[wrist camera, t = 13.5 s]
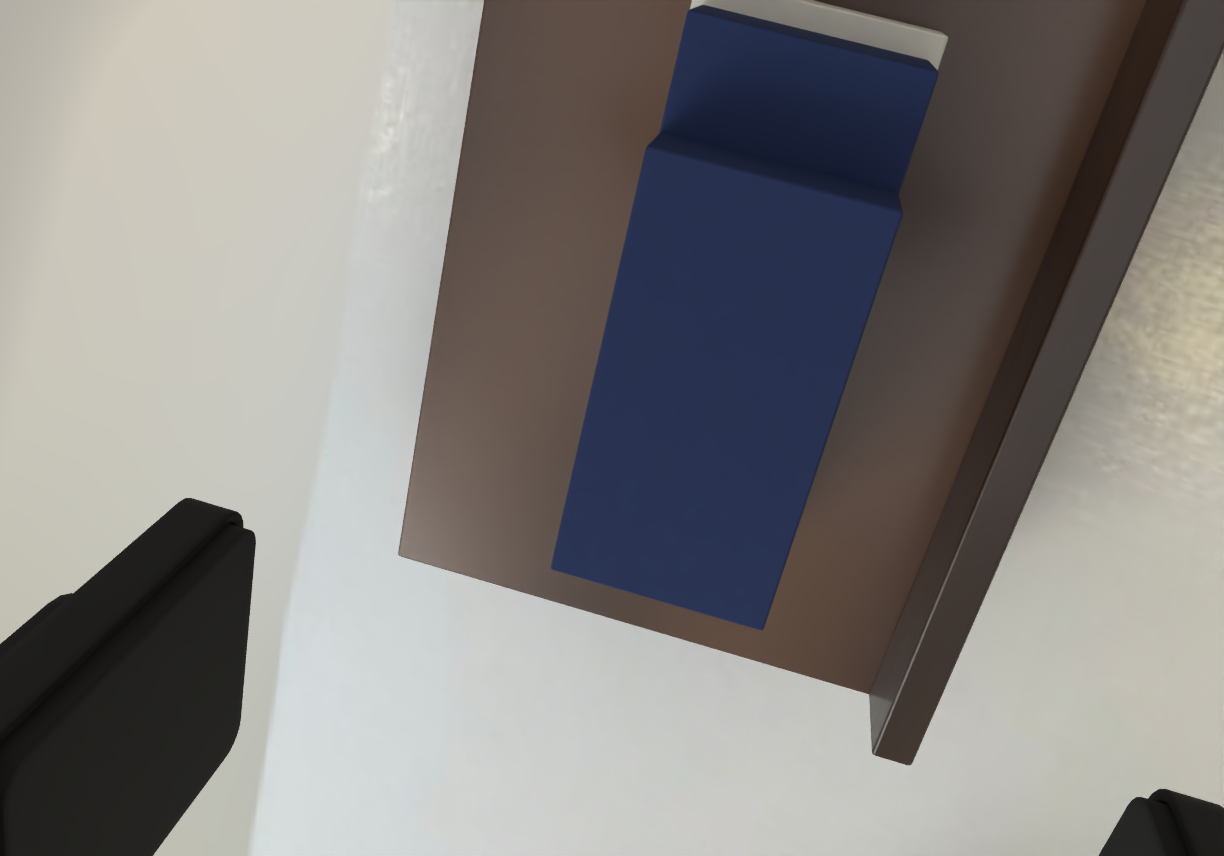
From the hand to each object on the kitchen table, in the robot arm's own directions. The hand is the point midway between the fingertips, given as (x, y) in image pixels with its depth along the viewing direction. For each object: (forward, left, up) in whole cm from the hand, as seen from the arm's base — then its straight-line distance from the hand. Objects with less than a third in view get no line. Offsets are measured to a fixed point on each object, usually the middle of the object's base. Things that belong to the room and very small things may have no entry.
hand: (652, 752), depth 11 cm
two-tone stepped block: (-1, 0, -15) cm, 15 cm away
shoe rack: (-1, 0, -21) cm, 21 cm away
